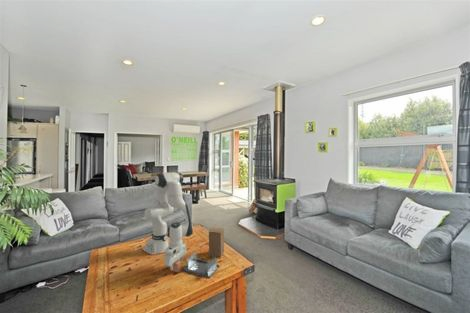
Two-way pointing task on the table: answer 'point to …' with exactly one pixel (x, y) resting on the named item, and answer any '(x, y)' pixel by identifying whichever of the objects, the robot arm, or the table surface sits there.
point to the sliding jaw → (191, 260)
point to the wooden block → (216, 242)
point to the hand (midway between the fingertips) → (176, 265)
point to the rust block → (177, 266)
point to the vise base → (203, 267)
